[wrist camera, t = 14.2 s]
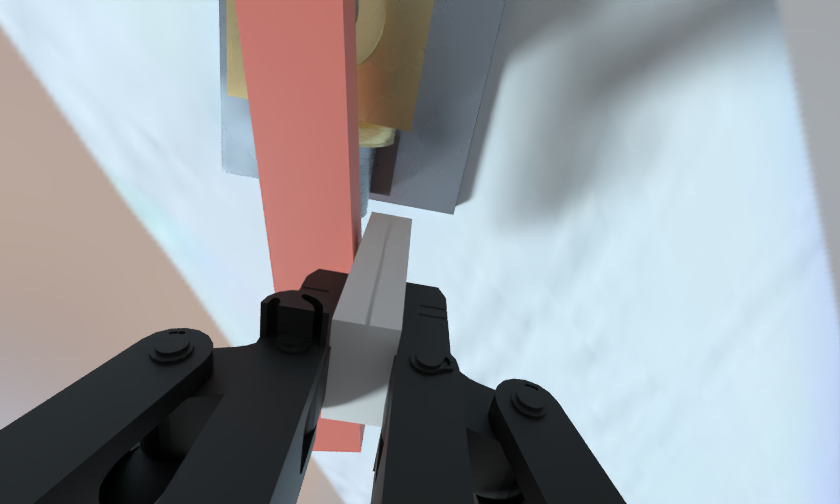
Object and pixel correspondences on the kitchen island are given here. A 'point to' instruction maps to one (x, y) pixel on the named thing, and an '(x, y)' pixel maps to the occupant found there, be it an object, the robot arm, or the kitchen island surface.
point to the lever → (306, 145)
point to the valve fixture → (391, 96)
